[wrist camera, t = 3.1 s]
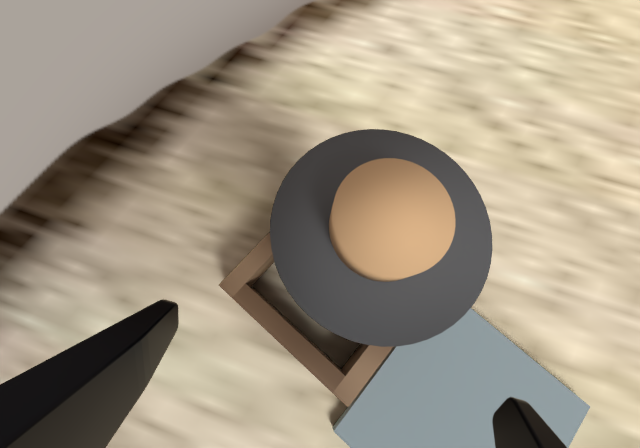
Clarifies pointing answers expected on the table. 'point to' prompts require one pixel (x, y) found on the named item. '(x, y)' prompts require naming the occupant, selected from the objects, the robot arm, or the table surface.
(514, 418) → the robot arm
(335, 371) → the brown square frame
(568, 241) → the table surface
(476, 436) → the mat
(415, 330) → the grey jar with lid
